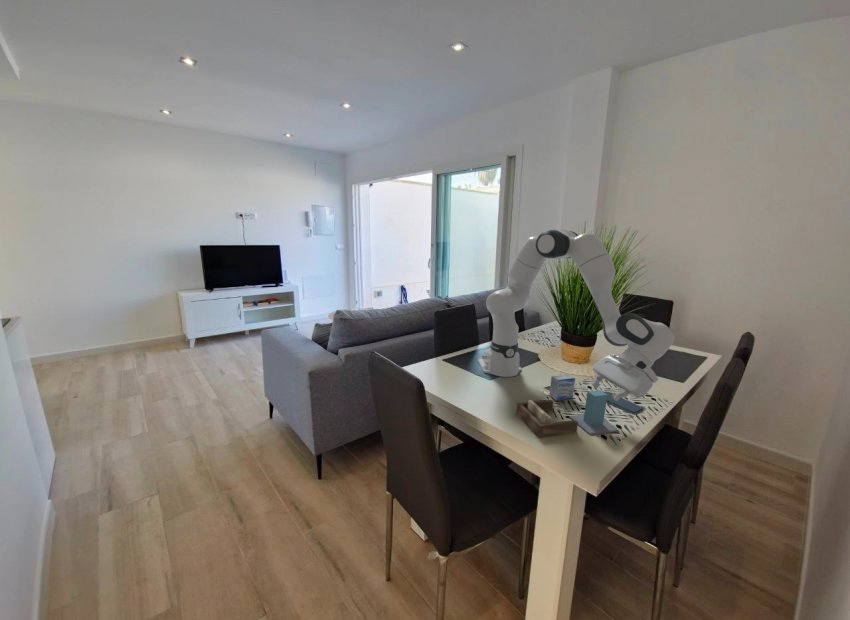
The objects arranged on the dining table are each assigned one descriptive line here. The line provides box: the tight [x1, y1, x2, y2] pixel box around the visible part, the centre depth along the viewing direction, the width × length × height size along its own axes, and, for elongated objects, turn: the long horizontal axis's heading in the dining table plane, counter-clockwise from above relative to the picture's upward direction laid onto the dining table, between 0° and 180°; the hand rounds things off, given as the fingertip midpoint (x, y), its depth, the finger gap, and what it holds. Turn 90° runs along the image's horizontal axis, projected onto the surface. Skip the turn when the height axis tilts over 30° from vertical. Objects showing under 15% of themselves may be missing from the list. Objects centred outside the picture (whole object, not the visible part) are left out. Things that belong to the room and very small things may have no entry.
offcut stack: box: [527, 399, 552, 424], centre depth 118 cm, size 9×4×6 cm, turn 13°
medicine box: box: [549, 374, 576, 401], centre depth 137 cm, size 8×4×9 cm, turn 106°
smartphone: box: [603, 391, 644, 415], centre depth 134 cm, size 8×2×15 cm
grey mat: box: [568, 413, 620, 436], centre depth 119 cm, size 11×11×1 cm
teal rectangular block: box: [583, 389, 608, 426], centre depth 118 cm, size 4×5×11 cm
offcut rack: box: [515, 399, 579, 438], centre depth 119 cm, size 15×14×4 cm
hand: (603, 392), depth 117 cm, fingers open, 8 cm apart
